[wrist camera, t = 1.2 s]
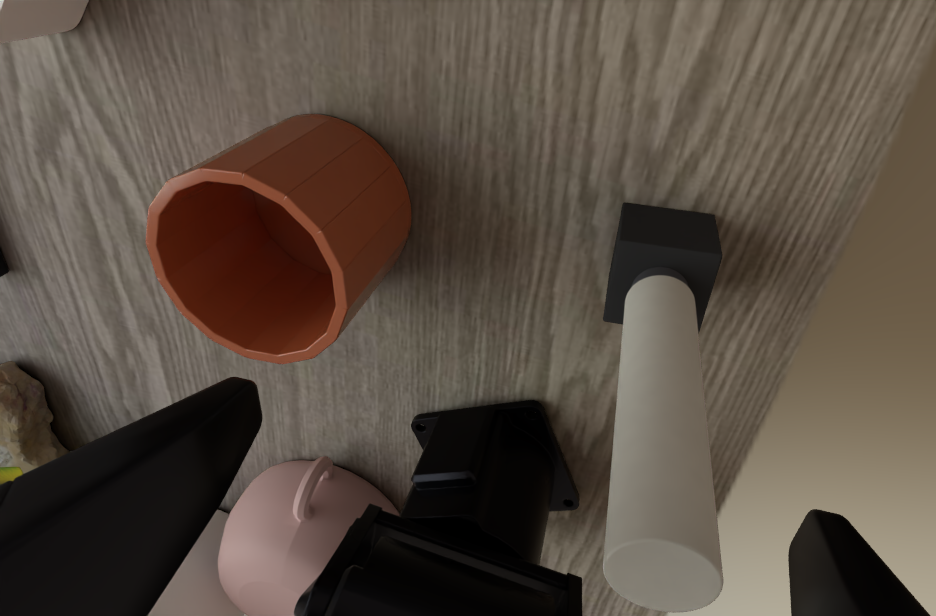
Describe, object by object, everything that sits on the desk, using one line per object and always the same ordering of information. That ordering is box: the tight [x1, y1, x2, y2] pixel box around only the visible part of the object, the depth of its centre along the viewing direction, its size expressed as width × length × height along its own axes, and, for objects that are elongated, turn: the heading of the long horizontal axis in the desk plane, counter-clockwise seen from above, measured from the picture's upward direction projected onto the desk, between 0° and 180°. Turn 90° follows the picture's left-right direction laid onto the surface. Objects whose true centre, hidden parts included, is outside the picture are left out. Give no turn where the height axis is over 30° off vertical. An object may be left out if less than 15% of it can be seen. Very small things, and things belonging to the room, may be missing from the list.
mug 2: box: [218, 456, 400, 616], centre depth 32 cm, size 12×10×6 cm
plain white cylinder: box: [603, 267, 723, 612], centre depth 14 cm, size 2×2×10 cm
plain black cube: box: [603, 203, 722, 334], centre depth 20 cm, size 3×3×3 cm
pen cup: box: [146, 114, 411, 364], centre depth 21 cm, size 7×7×6 cm
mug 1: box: [148, 510, 245, 616], centre depth 33 cm, size 12×9×12 cm
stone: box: [0, 361, 70, 474], centre depth 37 cm, size 13×4×10 cm
